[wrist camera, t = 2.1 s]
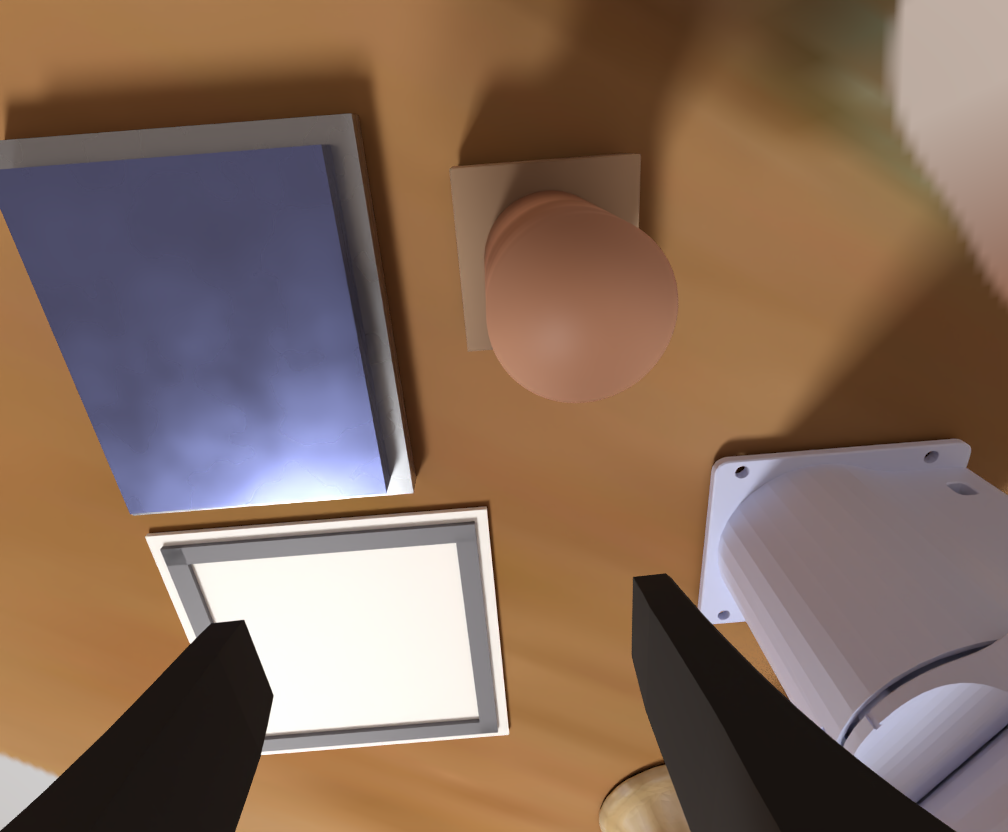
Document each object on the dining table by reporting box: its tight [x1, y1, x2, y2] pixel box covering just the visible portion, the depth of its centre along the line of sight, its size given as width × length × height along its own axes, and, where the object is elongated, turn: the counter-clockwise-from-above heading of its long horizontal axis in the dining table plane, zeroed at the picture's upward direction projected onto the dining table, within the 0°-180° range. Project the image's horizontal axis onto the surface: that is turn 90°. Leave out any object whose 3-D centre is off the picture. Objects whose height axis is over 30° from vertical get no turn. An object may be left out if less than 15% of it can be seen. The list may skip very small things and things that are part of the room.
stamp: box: [449, 153, 678, 403], centre depth 14 cm, size 5×5×8 cm
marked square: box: [145, 506, 509, 755], centre depth 25 cm, size 13×13×1 cm
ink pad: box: [0, 113, 416, 516], centre depth 18 cm, size 10×12×2 cm
